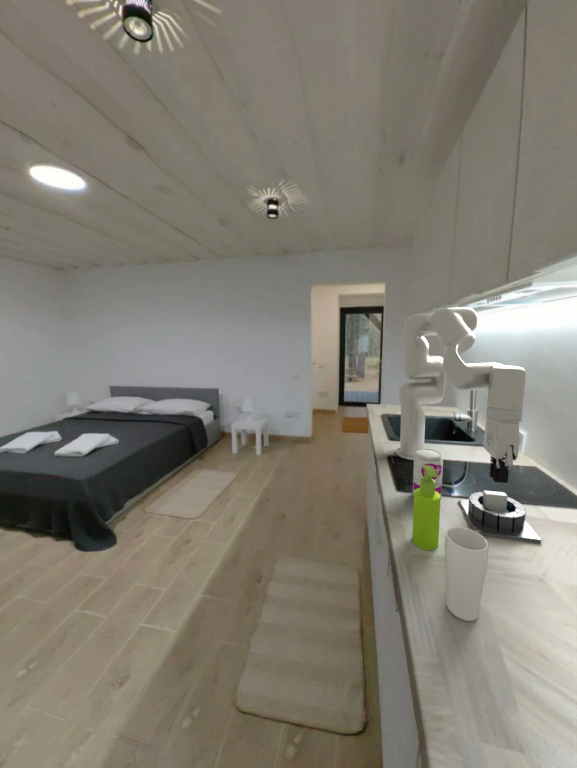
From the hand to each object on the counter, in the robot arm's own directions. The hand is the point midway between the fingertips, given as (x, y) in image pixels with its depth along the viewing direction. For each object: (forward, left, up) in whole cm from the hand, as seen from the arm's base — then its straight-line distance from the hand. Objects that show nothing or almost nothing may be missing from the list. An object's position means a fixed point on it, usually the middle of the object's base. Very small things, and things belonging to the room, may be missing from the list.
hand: (498, 479), depth 81 cm
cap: (0, 0, -11) cm, 11 cm away
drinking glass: (+32, -17, -12) cm, 38 cm away
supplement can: (-9, -16, -12) cm, 22 cm away
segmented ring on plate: (0, 0, -12) cm, 12 cm away
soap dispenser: (+14, -20, -12) cm, 27 cm away
